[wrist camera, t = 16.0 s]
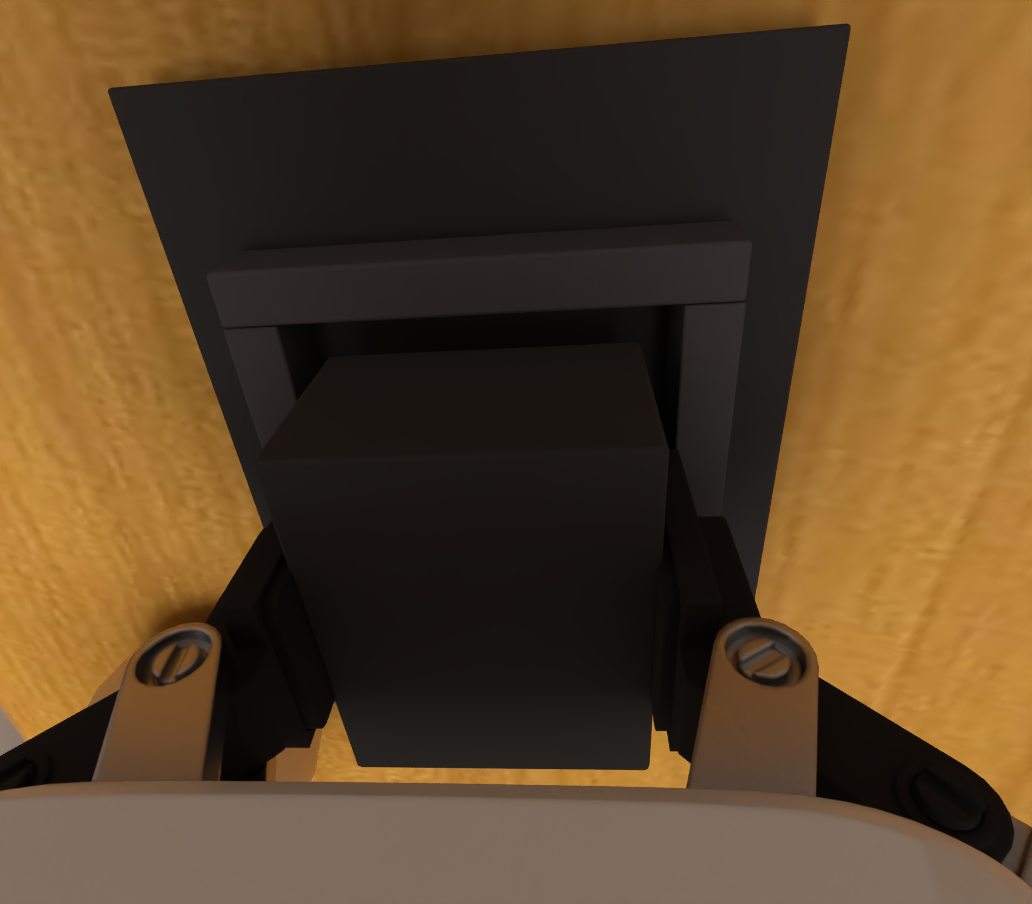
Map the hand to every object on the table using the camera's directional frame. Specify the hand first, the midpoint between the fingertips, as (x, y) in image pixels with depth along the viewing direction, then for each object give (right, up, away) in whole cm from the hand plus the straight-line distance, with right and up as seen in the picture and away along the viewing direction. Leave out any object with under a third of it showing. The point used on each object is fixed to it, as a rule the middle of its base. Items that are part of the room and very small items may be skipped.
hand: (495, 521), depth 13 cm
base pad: (0, +2, +3) cm, 3 cm away
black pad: (0, 0, 0) cm, 0 cm away
